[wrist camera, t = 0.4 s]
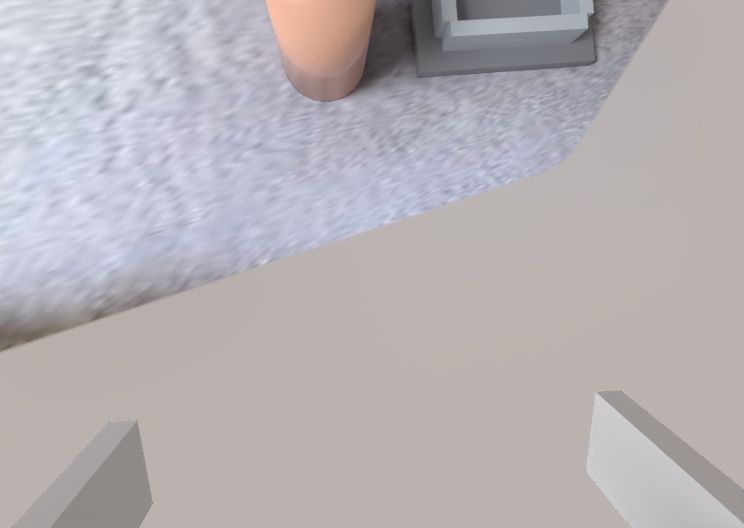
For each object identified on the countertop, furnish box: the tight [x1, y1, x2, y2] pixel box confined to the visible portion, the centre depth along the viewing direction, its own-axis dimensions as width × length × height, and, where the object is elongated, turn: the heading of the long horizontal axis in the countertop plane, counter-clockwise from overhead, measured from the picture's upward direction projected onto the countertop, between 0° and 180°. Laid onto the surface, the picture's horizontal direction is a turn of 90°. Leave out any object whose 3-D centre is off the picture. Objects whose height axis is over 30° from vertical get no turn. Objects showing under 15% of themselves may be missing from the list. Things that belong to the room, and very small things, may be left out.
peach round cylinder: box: [266, 0, 376, 102], centre depth 28 cm, size 7×7×12 cm
